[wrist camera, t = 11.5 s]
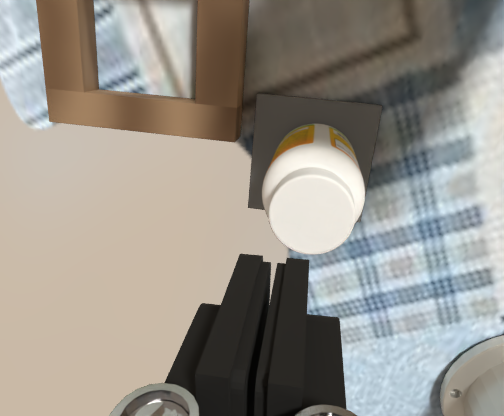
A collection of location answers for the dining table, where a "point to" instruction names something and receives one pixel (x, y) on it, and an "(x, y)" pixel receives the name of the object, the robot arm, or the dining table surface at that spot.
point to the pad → (302, 113)
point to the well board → (144, 105)
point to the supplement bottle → (313, 189)
